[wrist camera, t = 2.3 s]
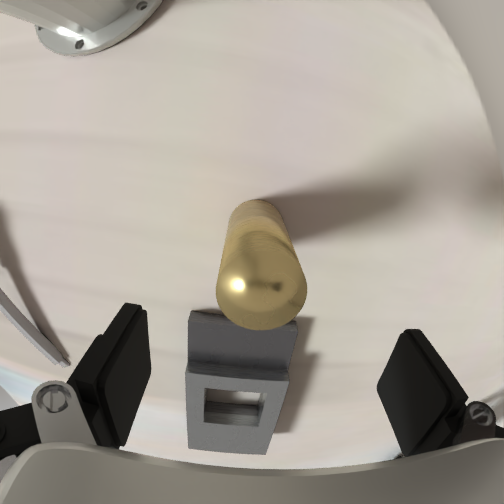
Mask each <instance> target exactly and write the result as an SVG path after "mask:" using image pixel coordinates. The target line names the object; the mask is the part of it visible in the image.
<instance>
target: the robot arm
mask: <svg viewBox="0 0 504 504" xmlns="http://www.w3.org/2000/svg"><path fill="white" fill-rule="evenodd" d="M162 1H163V0H0V13H3V14H6V15H10V16H13V17H15V18H18V19H21V20H24V21H27V22H30V23H32V24H35V30H36V35H37V37H38V39H39V41H40V42H41V43H42V45H43V46H44V47H45V48H47V49H48V50H50V51H52V52H54V53H57V54H61V55H64V56H83V55H88V54H92V53H95V52H99V51H101V50H103V49H106V48H108V47H110V46H112V45H114V44H116V43H117V42H119V41H121V40H122V39H124V38H126V37H127V36H128V35H130V34H131V33H132V32H134V31H135V30H136V29H138V28H139V27H140V26H141V25H142V24H143V23H144V22H145V21H146V20H147V19H148V18H149V17H150V16H151V15H152V14H153V13H154V11H155V10H156V9H157V8H158V7H159V5H160V4H161V2H162ZM144 8H145V9H144ZM143 9H144V10H143ZM150 375H151V359H150V349H149V336H148V322H147V311H146V310H142V306H141V305H137V304H131V303H125V304H124V305H123V306H122V308H121V309H120V311H119V312H118V313H117V315H116V316H115V318H114V319H113V321H112V322H111V324H110V325H109V327H108V328H107V329H106V331H105V332H104V334H103V335H102V334H100V335H98V336H97V337H96V338H95V340H94V341H93V343H92V344H91V346H90V347H89V349H88V350H87V352H86V353H85V355H84V356H83V358H82V359H81V361H80V362H79V364H78V365H77V367H76V368H75V370H74V371H73V373H72V375H71V376H70V378H69V379H68V381H67V382H66V383H65V382H62V381H56V380H55V381H48V382H45V383H42V384H41V385H40V386H38V387H37V388H36V389H35V391H34V392H33V395H32V403H29V404H25V405H22V406H18V407H14V408H10V409H7V410H3V411H0V504H504V428H502V427H500V426H497V425H496V416H495V413H494V411H493V410H492V409H491V408H490V407H489V406H488V405H487V404H485V403H483V402H479V401H473V402H471V403H469V404H468V405H467V406H466V405H465V402H466V401H467V399H468V398H469V397H468V396H467V394H466V393H465V391H464V390H463V388H462V387H461V385H460V384H459V382H458V381H457V379H456V378H455V376H454V375H453V374H452V372H451V371H450V369H449V368H448V367H447V365H446V364H445V362H444V361H443V360H442V358H441V357H440V355H439V354H438V353H437V351H436V350H435V349H434V347H433V346H432V345H431V343H430V342H429V340H428V339H427V338H426V337H425V335H424V334H423V333H422V331H421V330H420V329H406V330H405V331H404V332H403V333H401V334H400V336H399V338H398V341H397V343H396V345H395V347H394V350H393V352H392V354H391V356H390V359H389V361H388V363H387V365H386V367H385V369H384V371H383V373H382V375H381V378H380V380H379V382H378V384H377V392H378V394H379V397H380V399H381V401H382V404H383V406H384V409H385V411H386V413H387V416H388V418H389V421H390V423H391V426H392V428H393V431H394V433H395V436H396V438H397V441H398V443H399V446H400V448H401V451H402V453H403V454H404V455H406V457H404V458H399V459H394V460H388V461H382V462H375V463H368V464H361V465H353V466H343V467H332V468H316V469H248V468H233V467H221V466H211V465H203V464H195V463H188V462H181V461H175V460H169V459H163V458H158V457H152V456H147V455H143V454H138V453H133V452H128V451H123V450H119V447H120V446H123V447H124V446H125V444H126V442H127V439H128V436H129V433H130V430H131V427H132V424H133V421H134V419H135V416H136V413H137V410H138V408H139V405H140V402H141V399H142V397H143V394H144V391H145V388H146V386H147V383H148V380H149V378H150Z"/></svg>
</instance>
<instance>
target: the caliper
mask: <svg viewBox="0 0 504 504" xmlns="http://www.w3.org/2000/svg"><path fill="white" fill-rule="evenodd" d="M0 311H1V312H2V313H3V314H4V315H5V316H6V317H7V318H8V320H9V321H10V322H11V323H12V324H13V325H14V326H15V327H16V328H17V329H18V330H19V331H20V332H21V333H22V334H23V335H24V336H25V337H26V338H27V339H28V340H29V341H30V342H31V343H32V344H33V345H34V346H35V347H36V348H37V349H38V350H39V351H40V352H41V353H42V354H43V355H45V356H46V357H47V358H48V359H49V360H50V361H51V362H52V363H53V364H55V365H56V364H59V365H61V366H62V367H67V366H70V365H69V363H68V362H67V361H65V360H64V359H63V358H62V355H61V354H60V352H59V351H58V350H57V349H56V347H55V346H54V345H53V344H52V343H51V342H50V341H49V340H48V339H47V338H46V337H45V336H43V335H42V334H41V333H40V332H39V331H38V330H37V329H36V328H35V326H34V325H33V324H32V323H31V322H30V321H29V320H28V319H27V318H26V317H25V316H24V315H23V314H22V313H21V312H20V311H19V309H18V308H17V307H16V306H15V305H14V304H13V303H12V301H11V300H10V299H9V298H8V297H7V296H6V294H5V293H4V292H3V291H2V290H1V288H0Z"/></svg>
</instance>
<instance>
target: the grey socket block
mask: <svg viewBox="0 0 504 504" xmlns="http://www.w3.org/2000/svg"><path fill="white" fill-rule="evenodd" d="M297 333H298V329H297V325H296V321H289V322H288V323H286V324H284V325H282V326H280V327H277V328H274V329H269V330H251V329H247V328H244V327H241V326H239V325H237V324H235V323H234V322H232V321H231V320H229V319H228V318H227V317H226V316H225V315H221V314H213V313H204V312H196V311H191V313H190V316H189V320H188V363H187V367H186V372H185V381H186V411H187V432H188V448H189V449H197V450H205V451H214V452H225V453H239V454H260V455H266V452H267V449H268V446H269V443H270V441H271V438H272V435H273V432H274V429H275V426H276V423H277V420H278V417H279V414H280V410H281V407H282V404H283V401H284V398H285V395H286V391H287V388H288V385H289V375H288V367H289V364H290V360H291V356H292V352H293V349H294V345H295V341H296V337H297ZM207 388H211V389H220V390H230V391H242V392H256V393H261V394H260V398H259V402H258V406H254V405H240V404H228V403H218V402H208V401H206V392H207Z"/></svg>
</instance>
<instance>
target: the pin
mask: <svg viewBox="0 0 504 504" xmlns="http://www.w3.org/2000/svg"><path fill="white" fill-rule="evenodd" d="M306 296H307V283H306V279H305V276H304V273H303V271H302V268H301V266H300V263H299V260H298V258H297V255H296V253H295V250H294V247H293V245H292V242H291V240H290V237H289V235H288V232H287V230H286V227H285V225H284V222H283V220H282V217H281V215H280V213H279V211H278V210H277V209H276V208H275V207H274V206H273V205H271V204H270V203H268V202H266V201H262V200H250V201H246V202H244V203H242V204H240V205H239V206H238V207H237V208H236V209H235V210H234V211H233V213H232V215H231V217H230V220H229V225H228V230H227V234H226V239H225V244H224V249H223V254H222V259H221V264H220V269H219V274H218V280H217V285H216V298H217V302H218V305H219V307H220V309H221V310H222V312H223V313H224V315H225V316H226V317H227V318H228V319H229V320H231V321H232V322H234V323H235V324H237V325H239V326H241V327H244V328H247V329H251V330H269V329H274V328H277V327H280V326H282V325H284V324H286V323H288V322H289V321H291V320H292V319H293V318H294V317H295V316H296V315H297V314H298V313H299V312H300V310H301V309H302V307H303V305H304V303H305V300H306Z"/></svg>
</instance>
